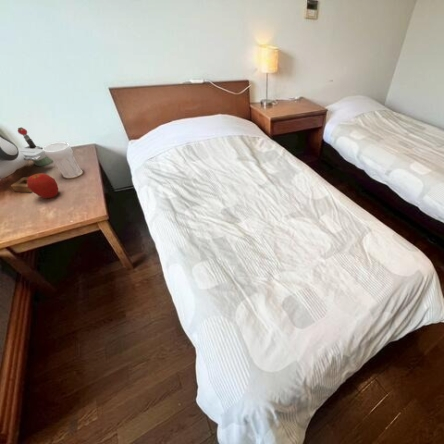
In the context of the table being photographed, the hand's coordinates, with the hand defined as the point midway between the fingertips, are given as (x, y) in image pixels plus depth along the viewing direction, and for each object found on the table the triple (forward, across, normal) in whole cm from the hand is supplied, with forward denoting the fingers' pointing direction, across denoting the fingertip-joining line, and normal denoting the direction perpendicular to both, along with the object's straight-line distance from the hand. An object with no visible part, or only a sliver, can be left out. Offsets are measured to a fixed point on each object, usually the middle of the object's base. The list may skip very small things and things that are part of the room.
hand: (35, 147), depth 143 cm
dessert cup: (-1, 0, +10) cm, 10 cm away
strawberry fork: (-1, 0, +9) cm, 9 cm away
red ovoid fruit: (-32, -25, +10) cm, 42 cm away
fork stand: (-26, -10, +10) cm, 30 cm away
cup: (-12, -24, +10) cm, 28 cm away
